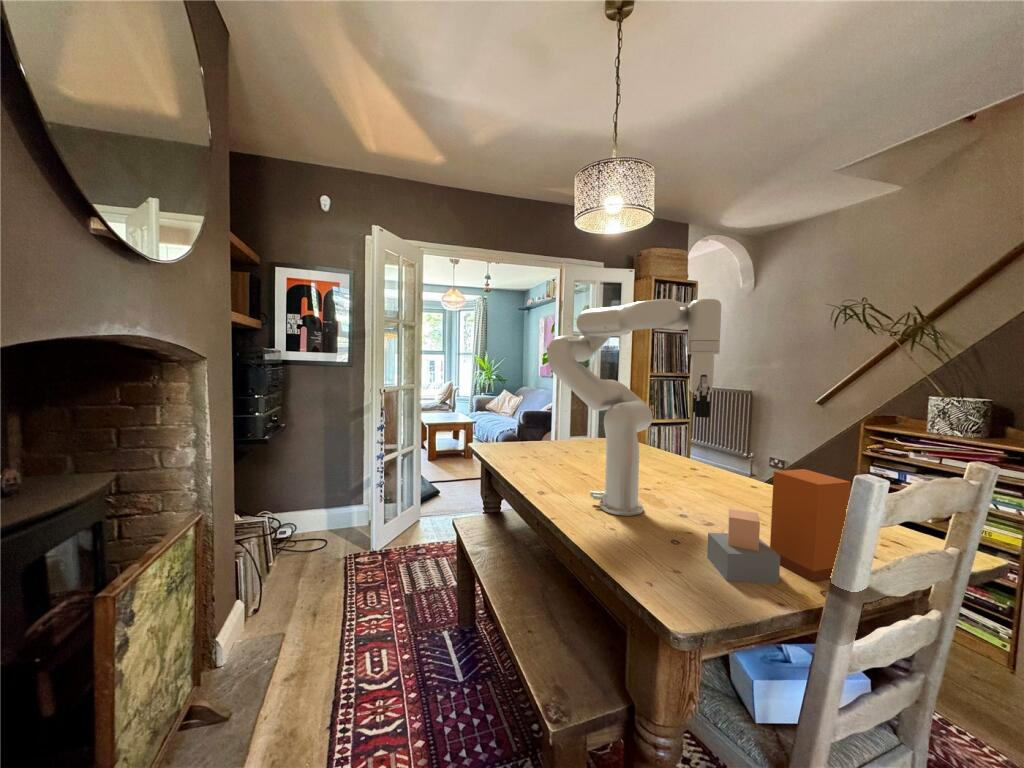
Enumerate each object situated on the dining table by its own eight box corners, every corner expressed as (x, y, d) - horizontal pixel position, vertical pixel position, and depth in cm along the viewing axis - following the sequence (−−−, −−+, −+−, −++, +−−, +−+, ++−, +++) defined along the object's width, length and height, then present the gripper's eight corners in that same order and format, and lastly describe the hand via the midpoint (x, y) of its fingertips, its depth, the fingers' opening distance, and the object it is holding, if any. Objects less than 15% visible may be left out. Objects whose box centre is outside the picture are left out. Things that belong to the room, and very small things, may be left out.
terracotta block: (728, 545, 86) (729, 517, 86) (727, 535, 91) (728, 508, 90) (758, 550, 83) (759, 521, 83) (756, 540, 88) (757, 513, 88)
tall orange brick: (847, 576, 85) (853, 481, 84) (813, 582, 82) (819, 484, 81) (801, 554, 95) (805, 468, 93) (769, 559, 92) (773, 471, 91)
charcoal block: (726, 582, 82) (728, 553, 82) (707, 558, 92) (708, 532, 92) (778, 585, 82) (780, 555, 81) (753, 560, 92) (754, 534, 91)
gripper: (685, 349, 115) (683, 410, 116) (689, 347, 98) (686, 418, 99) (715, 349, 112) (713, 411, 113) (724, 347, 96) (721, 420, 97)
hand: (700, 414), depth 106 cm, fingers open, 9 cm apart
